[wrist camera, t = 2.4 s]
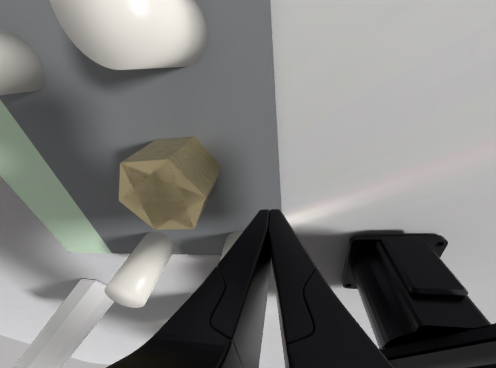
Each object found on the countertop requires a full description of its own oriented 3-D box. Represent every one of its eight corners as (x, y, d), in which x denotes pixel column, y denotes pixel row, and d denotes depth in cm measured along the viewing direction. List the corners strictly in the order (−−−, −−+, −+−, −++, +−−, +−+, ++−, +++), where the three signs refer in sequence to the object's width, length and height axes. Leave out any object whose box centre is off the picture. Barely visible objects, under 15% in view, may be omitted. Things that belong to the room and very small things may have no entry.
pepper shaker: (118, 305, 28) (38, 429, 18) (79, 293, 27) (-23, 414, 18) (117, 286, 25) (22, 421, 15) (74, 272, 24) (-51, 404, 15)
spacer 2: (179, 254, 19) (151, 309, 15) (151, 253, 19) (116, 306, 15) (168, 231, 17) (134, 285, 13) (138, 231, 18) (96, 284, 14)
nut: (227, 194, 14) (215, 228, 12) (162, 197, 15) (135, 229, 12) (214, 134, 12) (194, 157, 9) (138, 141, 13) (97, 164, 10)
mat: (283, 251, 18) (283, 255, 17) (71, 249, 21) (68, 252, 21) (264, -107, 7) (263, -114, 7) (-135, 14, 11) (-148, 12, 11)
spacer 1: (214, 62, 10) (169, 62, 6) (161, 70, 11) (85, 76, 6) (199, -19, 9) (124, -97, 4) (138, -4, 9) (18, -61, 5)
